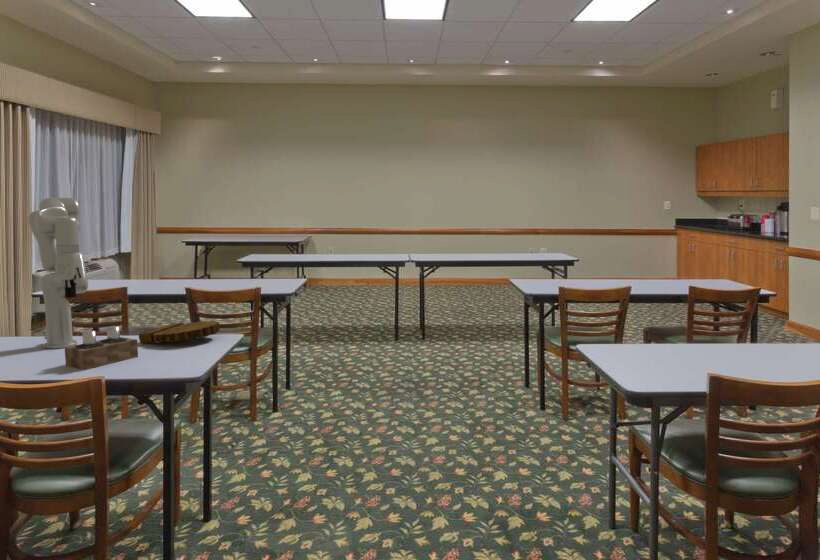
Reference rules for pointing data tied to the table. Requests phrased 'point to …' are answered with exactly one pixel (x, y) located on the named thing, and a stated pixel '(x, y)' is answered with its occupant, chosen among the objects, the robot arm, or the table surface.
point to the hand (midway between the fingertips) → (70, 297)
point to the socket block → (101, 353)
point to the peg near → (89, 338)
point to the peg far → (113, 333)
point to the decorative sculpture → (180, 332)
